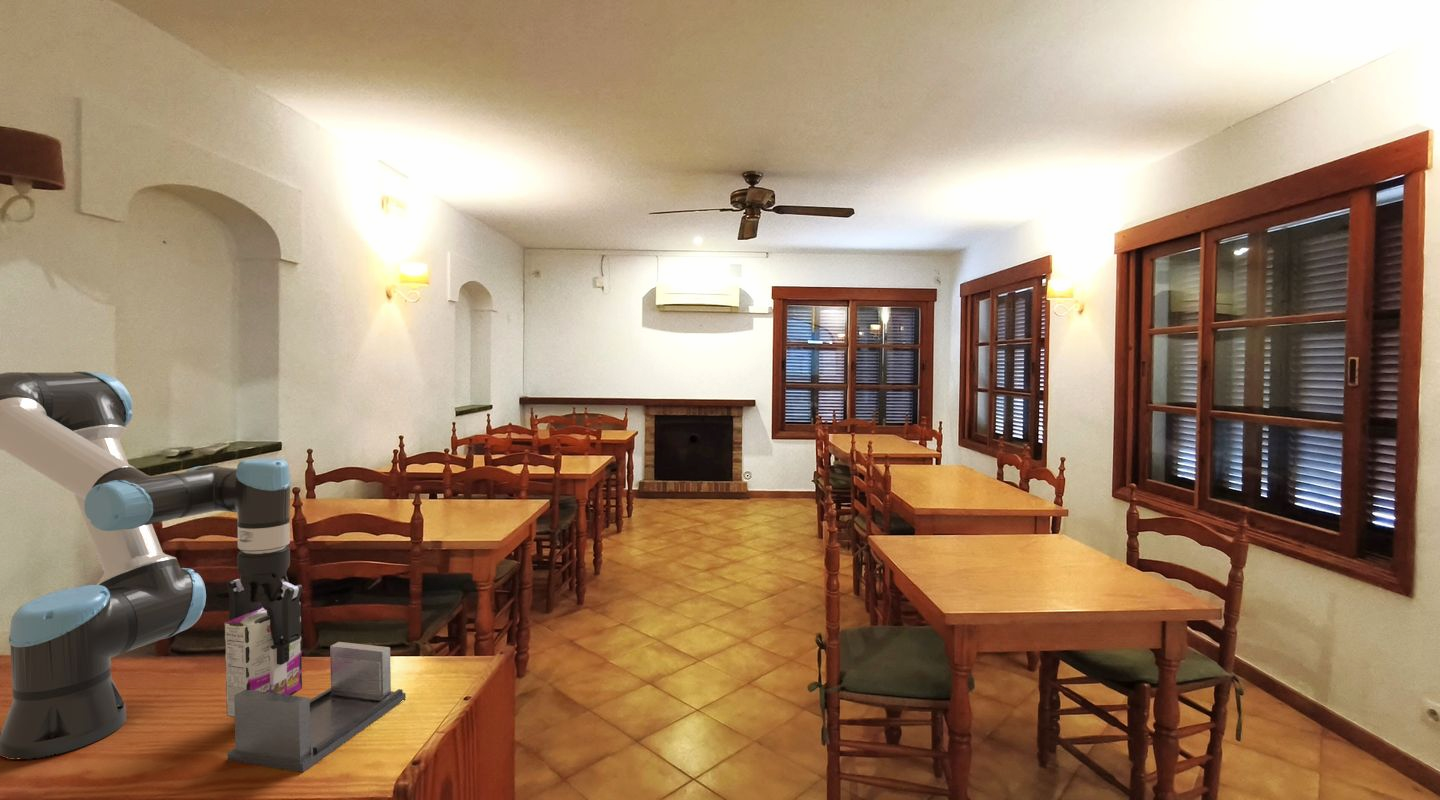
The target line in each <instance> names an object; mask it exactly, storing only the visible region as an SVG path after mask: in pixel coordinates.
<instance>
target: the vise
mask: <svg viewBox="0 0 1440 800" xmlns="http://www.w3.org/2000/svg"><path fill="white" fill-rule="evenodd" d="M405 698H406V692H404V690H403V689H400V688H398V689H397V690H395V691H392V690H391V695H389V696H388V697H386V698H385V699H384V700H382V701H380V700H372V699H364V698H356V697H348V696H340V695H333V694H331V687H329V688H327V689H326V690H325V691H323V692H321V693H320V694H318V695H316V696H315V697H313V698H310V697H307V696H298V695H284V694H277V693H269V692H261V691H254V690H244V691H242V692H240V693H238V694H236V695H234V707H235V717H234V737H235V740H234V741H235V742H234V743H235V748H233V749H231V750H230V751H228V752H227V753H226V754H227V761H230V762H237V763H244V764H250V765H256V766H262V767H268V768H274V769H279V770H280V769H281V770H287V771H293V772H298V773H299V772H301V773H304V772H306V771H308V769H310V768H311V767H313V766H314V765H316V764H317V763H318V762H320V761H321V760H322V759H324V758H325V757H326V756H328V755H330V754H331V753H333V752H334V751H335V750H337V749H338V748H339V747H340V746H343V745H344V744H345V743H346V742H348V741H350V739H352V738H353V737H354V736H356V735H357V734H359V733H360V732H362V731H364V730H365V729H366V728H368V727H369V726H370V725H371V724H373V723H375V722H376V721H377V720H379V719H380V718H382V717H383V716H384V715H386V714H387V713H388V712H390V711H391V710H393V709H394V708H395V706H396V705H397V706H399V705H400V704H401V703H402V702H401V701H402V700H404V699H405ZM405 700H406V699H405ZM405 700H404V701H405ZM400 702H401V703H400ZM399 703H400V704H399ZM397 706H396V707H397ZM343 743H344V744H343Z"/></svg>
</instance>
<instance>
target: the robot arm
mask: <svg viewBox="0 0 1440 800" xmlns="http://www.w3.org/2000/svg"><path fill="white" fill-rule="evenodd" d="M133 409H134V403H133V400H132V397H131V393H130V392H129V390H128V389H127V387H126V386H125V385H124V384H123V383H122V382H121V381H120V380H119V379H117V378H116V377H114V376H112V375H108V374H106V373H99V372H89V371H73V372H22V371H17V372H14V371H13V372H9V371H7V372H2V373H0V451H4V452H5V453H7V454H9V455H10V456H12V457H14V458H15V459H17V460H19V461H21V462H22V463H23V464H24V465H27V466H29V467H30V468H31V469H33V470H35V471H37V472H38V473H40V474H41V475H43V476H44V477H47V478H48V479H49V480H52V481H53V482H54V483H56V484H58V485H60V487H63V488H64V489H66V490H68V491H69V492H71V493H73V494H74V496H75V499H76V502H77V504H78V507H79V510H80V512H81V515H82V518H83V520H84V523H85V526H86V529H87V531H88V534H89V536H90V538H91V542H92V544H93V546H94V549H95V552H96V554H97V558H98V560H99V562H100V564H101V565H100V566H101V568H102V570H103V575H102V576H101V578H100V579H99V581H98V582H97V584H85V585H79V586H74V587H73V588H64V589H59V590H56V591H53V592H49V593H47V594H44V595H41V596H38V597H37V598H33V599H32V600H30V601H28V602H26V603H25V604H23V605H21V606H20V607H19V608H18V609H17V610H16V611H15V612H14V614H13V615H12V616H11V618H10V619H11V620H10V628H9V635H8V643H9V645H10V664H11V665H10V666H11V667H10V668H11V685H12V703H11V705H10V708H9V711H8V713H7V715H6V718H5V721H4V724H3V726H2V729H1V732H0V755H2V756H5V757H8V758H14V759H17V758H20V759H27V760H34V759H33V758H36V759H41V757H42V758H47V757H51V755H52V756H55V755H54V754H56V755H59V754H60V755H61V754H64V753H67V752H71V751H73V750H76V749H79V748H83V747H85V746H88V745H91V744H93V743H95V742H97V741H100V740H101V739H104V738H105V737H107V736H110V735H111V734H112V733H113V734H114V732H116V731H117V730H119V729H120V728H121V727H122V726H123V725H124V724H125V722H126V721H127V707H126V703H125V701H124V699H123V698H122V695H121V694H120V691H119V689H118V688H117V686H116V684H115V682H114V680H113V678H112V661H111V659H112V658H113V657H115V656H119V655H121V654H122V655H123V654H124V653H127V652H130V651H133V650H135V649H139V648H140V647H144V646H146V645H149V644H152V643H155V642H158V641H161V640H166V639H169V638H171V637H173V636H175V635H176V634H179V633H181V632H183V631H184V632H185V631H186V630H188V629H189V628H191V627H193V626H194V625H195V624H197V622H198V621H199V619H200V618H201V616H202V614H203V612H204V608H205V606H206V599H207V593H206V586H205V582H204V580H203V578H202V577H201V575H200V574H199V573H198V572H195V570H194V569H192V568H187V567H186V568H185V567H182V568H181V566H180V564H179V562H178V559H177V557H175V556H172V555H169V554H166V553H165V552H163V549H162V546H161V543H160V541H159V539H158V536H157V534H156V531H155V528H154V525H153V524H157V523H161V522H167V521H170V520H175V519H176V520H177V519H181V518H182V519H183V518H188V517H192V516H196V515H202V514H203V515H204V514H207V513H212V512H228V513H229V512H230V513H237V521H236V522H237V523H236V526H237V549H239V550H240V551H238V553H237V572H238V574H240V575H241V576H240V577H239V578H237V579H234V580H231V581H228V582H227V583H226V589H227V592H228V595H229V597H228V600H229V602H228V603H229V605H228V608H229V611H228V619H229V620H228V621H230V620H233V619H235V618H238V617H240V616H243V615H245V614H247V613H251V612H253V611H256V610H258V609H261V608H262V607H263V608H264V609H266V610H267V615H268V616H270V629H271V633H272V638H273V642H274V645H272V646H270V685H274V684H276V683H278V682H280V681H282V680H284V679H286V678H287V662H288V661H289V644H290V643H292V642H294V641H296V640H298V639H300V605H301V604H300V603H301V601H300V599H301V595H302V591H303V585H302V584H296V585H294V584H292V583H290V582H289V579H288V575H287V571H288V569H289V567H290V566H291V548H290V547H289V546H288V545H289V544H290V543H291V526H290V522H291V519H290V518H291V516H290V515H291V514H290V513H291V512H290V511H291V509H290V508H291V506H290V505H291V496H290V495H291V494H290V493H291V492H290V491H291V484H292V483H291V482H292V481H291V479H290V478H291V476H290V466H289V462H288V461H286V459H283V458H277V457H270V458H269V457H259V458H248V459H244V460H241V461H239V462H238V463H237V467H236V468H233V467H225V466H224V467H222V466H218V465H206V466H205V465H202V466H201V465H198V466H193V467H191V468H189V469H188V470H186V471H181V472H176V473H175V472H174V473H166V474H161V475H149V474H146V473H145V472H143V471H141V470H140V469H138V468H136V467H135V466H132V465H131V464H129V461H128V458H127V456H126V454H125V451H124V447H122V443H121V440H122V438H123V437H124V435H125V434H126V433H127V429H126V427H127V426H128V425H129V424H130V422H131V420H132V418H133V414H134V413H133V411H132V410H133ZM282 636H283V638H281V637H282ZM46 756H47V757H46Z"/></svg>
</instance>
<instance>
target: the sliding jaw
mask: <svg viewBox="0 0 1440 800" xmlns="http://www.w3.org/2000/svg"><path fill="white" fill-rule="evenodd" d="M329 650H330V653H329V655H330V656H329V657H330V661H329V663H330V688H331V694H333V695H340V696H348V697H356V698H364V699H372V700H380V701H382V700H384V699H385V698H386V697H388V696H389V695H391V691H392V686H391V685H392V683H391V681H392V679H391V676H392V675H391V674H392V673H391V647H390V646H382V645H381V646H379V645H373V644H362V643H353V642H344V641H343V642H342V641H337V642H336V643H334V644H331V645H330V647H329Z"/></svg>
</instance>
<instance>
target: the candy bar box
mask: <svg viewBox="0 0 1440 800" xmlns="http://www.w3.org/2000/svg"><path fill="white" fill-rule="evenodd" d="M301 608H302V607H301V602H300V639H298V640H296V641H294V642H292V643H290V644H289V661H288V662H287V678H286V679H284V680H282V681H280V682H278V683H276V684H274V685H270V646H272V645H274V642H273V638H272V633H271V629H270V616H268V615H267V610H266V609H264V608H263V606H262V608H261V609H258V610H256V611H253V612H251V613H247V614H245V615H243V616H240V617H238V618H235V619H233V620H230V621H229V620H228V621H226V622H224V623H223V624H224V650H225V652H224V654H225V655H224V657H225V686H226V687H225V688H226V689H225V692H226V693H225V694H226V716H227V717H231V718H235V707H234V695H236V694H238V693H240V692H242V691H244V690H254V691H261V692H269V693H277V694H284V695H292V696H294V694H296V693H298V692H299V691H301V690H303V665H302V664H303V663H302V659H303V658H302V617H301V615H302V612H301V611H302V610H301ZM281 638H283V636H282V637H281Z"/></svg>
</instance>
